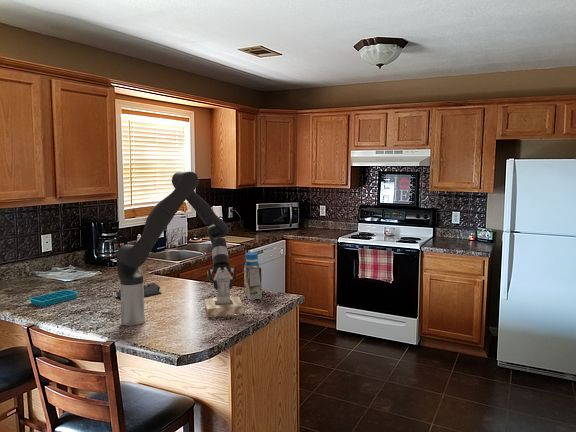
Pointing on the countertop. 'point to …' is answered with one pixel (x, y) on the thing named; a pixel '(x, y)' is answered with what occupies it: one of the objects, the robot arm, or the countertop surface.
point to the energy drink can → (223, 287)
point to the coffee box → (253, 282)
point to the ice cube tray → (53, 297)
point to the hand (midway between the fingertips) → (223, 288)
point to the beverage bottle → (250, 261)
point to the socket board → (223, 307)
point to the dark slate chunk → (147, 290)
